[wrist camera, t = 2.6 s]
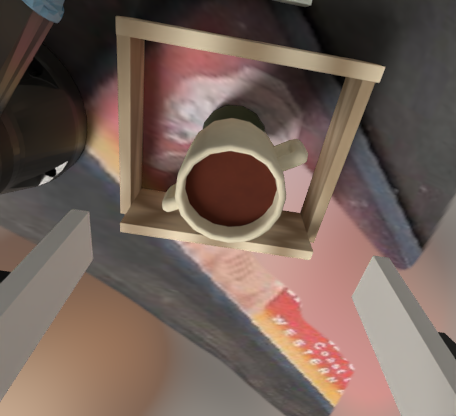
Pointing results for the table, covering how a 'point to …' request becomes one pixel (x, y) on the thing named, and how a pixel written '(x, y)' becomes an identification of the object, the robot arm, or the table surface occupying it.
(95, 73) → the table surface
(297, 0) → the tray
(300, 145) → the character mug
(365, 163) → the table surface
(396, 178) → the table surface
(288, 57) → the wooden frame
